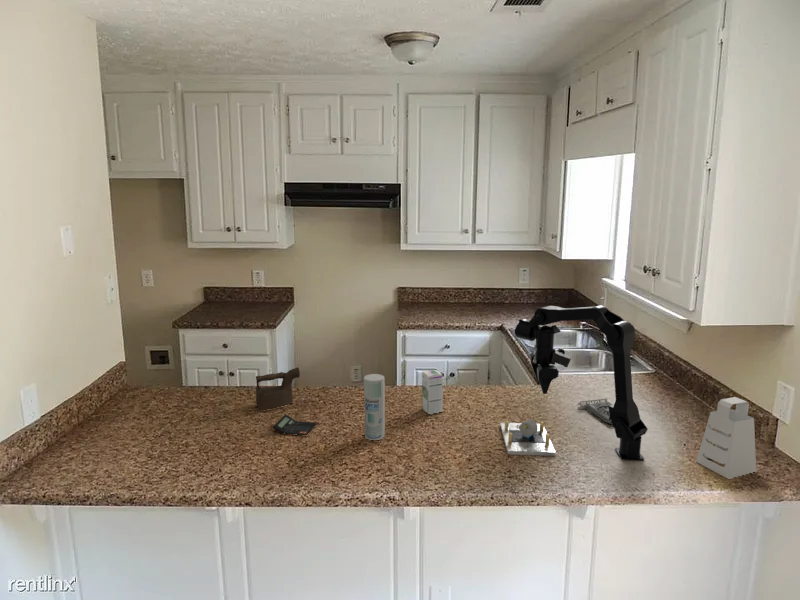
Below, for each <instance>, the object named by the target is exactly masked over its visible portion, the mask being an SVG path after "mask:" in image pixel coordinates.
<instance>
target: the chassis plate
mask: <svg viewBox="0 0 800 600" xmlns="http://www.w3.org/2000/svg"><path fill="white" fill-rule="evenodd" d="M521 423H522V422H510V421H509V420H508V419H506V420H504V422H500V424H499V426H501V427H500V431H501V430H502V431H501V435H502V437H503V441H504V445H505V450H506V453H507V454H506V455H513V456H514V455H518V456H521V455H522V456H546V457H547V456H548V457H550V456H551V457H556V450H555V448H554V445H553V443H552V441H551V439H550V436H551V435H550V433H548V432H547V430H546V427H545V422H544V421H543V420H541V421H540V422H539V423H536V424H537V426H538V430H537V433H536V434H534V435H533V436H532V437H530V438H526V437H523V436H522V433H521V431H520V429H518V428H519V426H517V425H521ZM517 427H518V428H517Z"/></svg>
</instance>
